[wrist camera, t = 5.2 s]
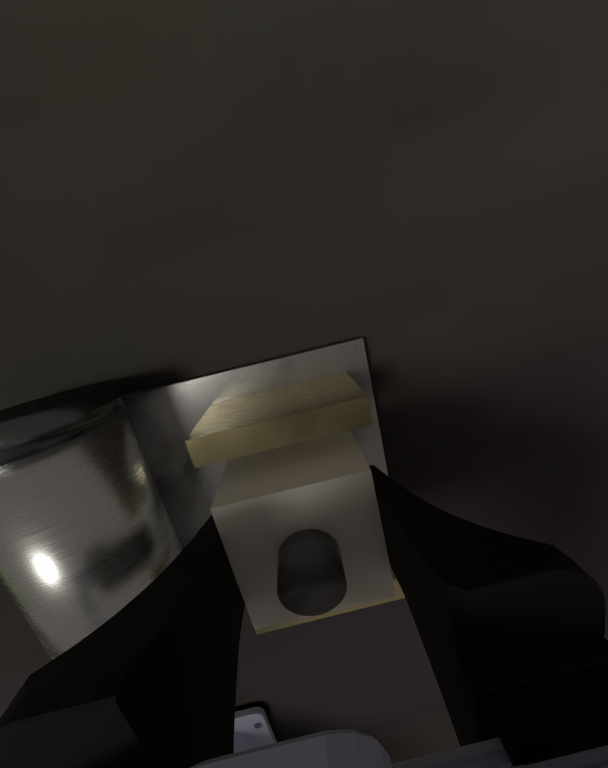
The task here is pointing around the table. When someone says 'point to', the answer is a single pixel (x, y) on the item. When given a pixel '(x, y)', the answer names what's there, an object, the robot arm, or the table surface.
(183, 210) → the table surface
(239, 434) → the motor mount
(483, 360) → the table surface
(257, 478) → the light grey block
